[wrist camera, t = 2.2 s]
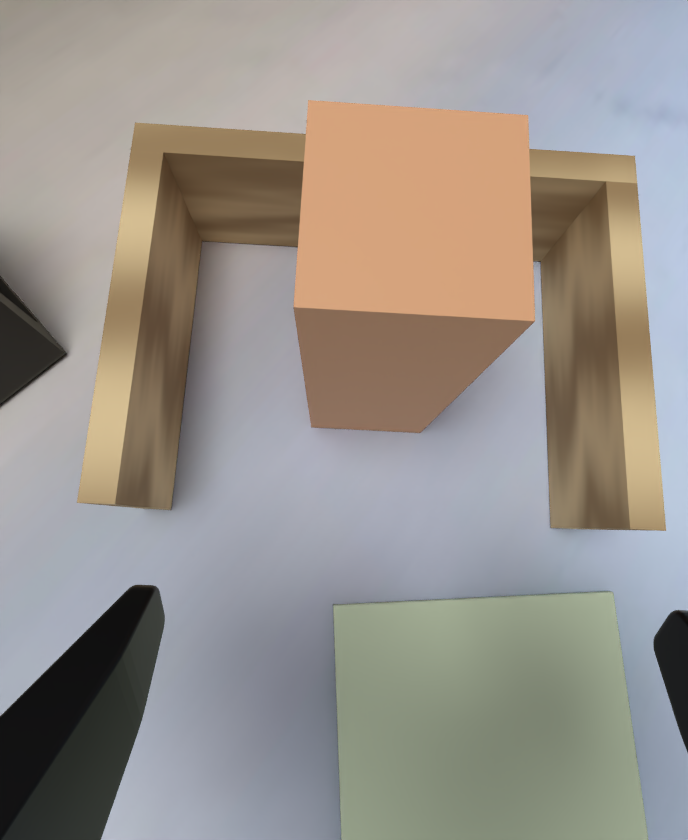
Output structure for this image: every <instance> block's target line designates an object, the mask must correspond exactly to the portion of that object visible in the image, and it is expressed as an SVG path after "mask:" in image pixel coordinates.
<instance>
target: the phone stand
mask: <svg viewBox="0 0 688 840" xmlns="http://www.w3.org/2000/svg"><path fill="white" fill-rule="evenodd" d="M64 354H66V352H65V351H64V350H63V348H62V347H61V346H60V345H59V344H58V343H57V341H56V340H55V339H54V338H53V337H52V336H51V334H50V333H49V332H48V331H47V330H46V329H45V328H44V326H43V325H42V324H41V323H40V322H39V321H38V319H37V318H36V317H35V316H34V315H33V314H32V312H31V311H30V310H29V309H28V308H27V307H26V305H25V304H24V303H23V302H22V301H21V300H20V298H19V297H18V296H17V295H16V294H15V293H14V291H12V290H11V289H10V288H9V287H8V284H7V283H6V282H5V281H4V280H3V279H2V277H1V276H0V404H1V403H2V402H3V401H5V400H6V399H7V398H9V397H10V396H11V395H12V394H14V393H15V392H16V391H18V390H19V389H20V388H22V387H23V386H24V385H25V384H27V383H28V382H29V381H31V380H32V379H33V378H35V377H36V376H37V375H38V374H40V373H41V372H42V371H44V370H45V369H46V368H47V367H49V366H50V365H51V364H53V363H54V362H55V361H57V360H58V359H59V358H60V357H62V356H63V355H64Z"/></svg>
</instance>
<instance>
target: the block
mask: <svg viewBox="0 0 688 840" xmlns="http://www.w3.org/2000/svg"><path fill="white" fill-rule="evenodd" d="M294 313H295V320H296V327H297V333H298V340H299V347H300V354H301V360H302V367H303V374H304V381H305V387H306V394H307V401H308V408H309V414H310V421H311V427H315V428H334V429H354V430H373V431H392V432H412V433H421V432H422V431H423V430H424V429H425V428H426V427H427V426H428V425H429V424H430V423H431V422H432V421H433V420H434V419H435V418H436V417H437V416H438V415H439V414H440V413H441V412H442V411H443V410H444V409H445V408H446V407H447V406H448V405H449V404H450V403H451V402H453V401H454V400H455V399H456V398H457V397H458V396H459V395H460V394H461V393H462V392H463V391H464V390H465V389H466V388H467V387H468V386H469V385H470V384H471V383H472V382H473V381H474V380H475V379H476V378H477V377H478V376H479V375H480V374H481V373H482V372H483V371H484V370H485V369H486V368H487V367H488V366H489V365H491V364H492V363H493V362H494V361H495V360H496V359H497V358H498V357H499V356H500V355H501V354H502V353H503V352H504V351H505V350H506V349H507V348H508V347H509V346H510V345H511V344H512V343H513V342H514V341H515V340H516V339H517V338H518V337H519V336H520V335H521V334H522V333H523V332H524V331H525V330H526V329H528V328H529V327H530V326H531V325H532V324H533V323H534V322H535V305H534V276H533V246H532V217H531V187H530V157H529V128H528V115H517V114H503V113H488V112H473V111H459V110H444V109H429V108H415V107H400V106H385V105H371V104H356V103H341V102H327V101H312V100H308V113H307V127H306V141H305V155H304V169H303V183H302V197H301V211H300V225H299V239H298V253H297V267H296V281H295V295H294Z"/></svg>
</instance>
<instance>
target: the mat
mask: <svg viewBox="0 0 688 840" xmlns="http://www.w3.org/2000/svg"><path fill="white" fill-rule="evenodd" d="M333 614H334V643H335V672H336V700H337V729H338V757H339V786H340V814H341V840H648V834H647V827H646V820H645V813H644V806H643V798H642V791H641V784H640V777H639V770H638V763H637V756H636V749H635V742H634V735H633V728H632V721H631V714H630V707H629V700H628V693H627V686H626V679H625V672H624V665H623V658H622V651H621V644H620V637H619V630H618V623H617V616H616V609H615V602H614V595H613V592H610V591H600V592H580V593H559V594H539V595H519V596H498V597H478V598H457V599H437V600H416V601H396V602H376V603H355V604H335V605H333Z"/></svg>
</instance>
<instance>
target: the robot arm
mask: <svg viewBox="0 0 688 840" xmlns="http://www.w3.org/2000/svg"><path fill="white" fill-rule="evenodd" d="M164 622H165V615H164V610H163V605H162V601H161V596H160V592H159V589H158V588H157V587H156V586H153V585H134V586H132V587H130V588H129V589H128V590H127V591H126V592H125V593H124V594H123V595H122V596H121V597H120V598H119V599H118V600H117V601H116V602H115V603H114V604H113V605H112V606H111V607H110V608H109V609H108V610H107V611H106V612H105V613H104V614H103V615H102V616H101V617H100V618H99V619H98V620H97V621H96V622H95V623H94V624H93V625H92V626H91V627H90V628H89V629H88V630H87V631H86V632H85V633H84V634H83V635H82V636H81V637H80V638H79V639H78V640H77V641H76V642H75V643H74V644H73V645H72V646H71V647H70V648H69V649H68V650H67V651H66V652H65V653H64V654H63V655H62V656H61V657H60V658H59V659H58V660H57V661H56V662H55V663H54V664H53V665H52V666H50V667H49V668H48V669H47V670H46V671H45V672H44V673H43V674H42V675H41V676H40V677H39V678H38V679H37V680H36V681H35V682H34V683H33V684H32V685H31V686H30V687H29V688H28V689H27V690H26V691H25V692H24V693H23V694H22V695H21V696H20V697H19V698H18V699H17V700H16V701H15V702H14V703H13V704H12V705H11V706H10V707H9V708H8V709H7V710H6V711H5V712H4V713H3V714H2V715H1V716H0V840H101V837H102V834H103V832H104V829H105V826H106V823H107V820H108V817H109V814H110V811H111V808H112V806H113V803H114V800H115V797H116V794H117V791H118V788H119V785H120V783H121V780H122V777H123V774H124V771H125V768H126V765H127V762H128V760H129V757H130V754H131V751H132V748H133V745H134V742H135V739H136V736H137V733H138V730H139V727H140V724H141V721H142V717H143V713H144V710H145V706H146V701H147V697H148V693H149V689H150V684H151V680H152V676H153V672H154V667H155V663H156V659H157V655H158V650H159V646H160V642H161V638H162V633H163V629H164ZM654 651H655V655H656V658H657V661H658V664H659V667H660V671H661V674H662V677H663V680H664V683H665V686H666V690H667V693H668V696H669V699H670V702H671V705H672V709H673V712H674V715H675V718H676V721H677V724H678V727H679V730H680V733H681V736H682V739H683V742H684V744H685V747H686V749H687V752H688V611H684V610H675V611H673V612H671V613H670V614H669V615H668V617H667V618H666V620H665V621H664V623H663V625H662V626H661V628H660V629H659V631H658V632H657V634H656V635H655V637H654Z"/></svg>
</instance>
